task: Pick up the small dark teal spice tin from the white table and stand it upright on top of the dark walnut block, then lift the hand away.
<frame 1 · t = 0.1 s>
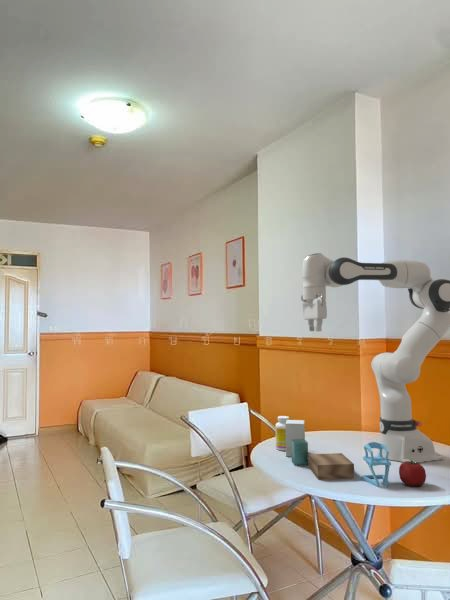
hand: (315, 331, 165), 48 cm above the table, tool pointing down, fingers open, 8 cm apart
chair: (377, 482, 136), on the table
walnut block: (330, 473, 146), on the table
supplement bottle: (284, 449, 175), on the table
tomato: (412, 485, 134), on the table
supplement box: (295, 455, 167), on the table
spice tin: (299, 463, 156), on the table
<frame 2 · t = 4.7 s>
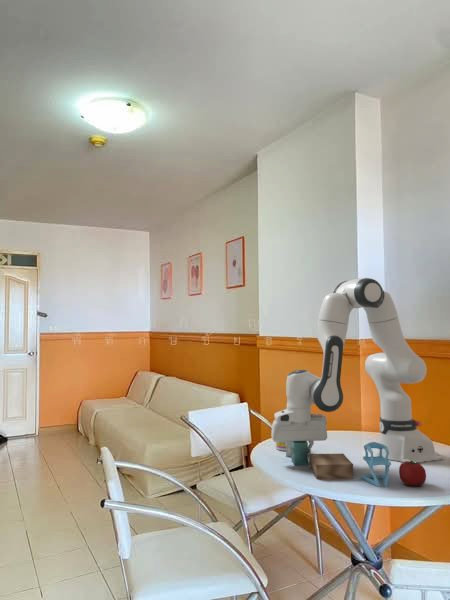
hand: (299, 453, 156), 4 cm above the table, tool pointing down, fingers closed on spice tin, 5 cm apart
spice tin: (299, 463, 156), on the table, touching gripper
everything else where it was.
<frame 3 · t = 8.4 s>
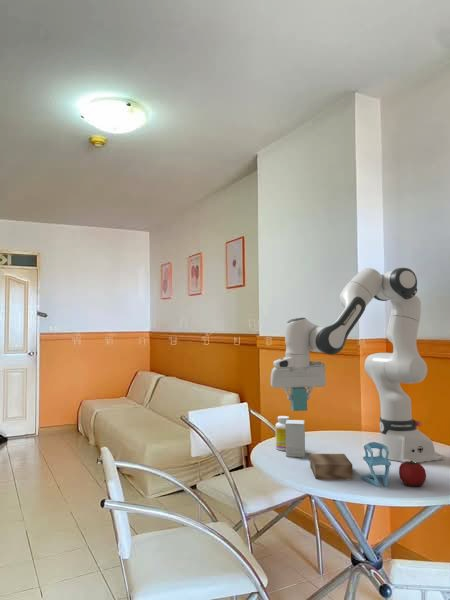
hand: (298, 399, 158), 23 cm above the table, tool pointing down, fingers closed on spice tin, 5 cm apart
spice tin: (298, 409, 157), point 19 cm above the table, touching gripper
everything else where it was.
when the fingers open (10 cm above the table, at t = 11.9 s): spice tin drops 2 cm, resting on walnut block.
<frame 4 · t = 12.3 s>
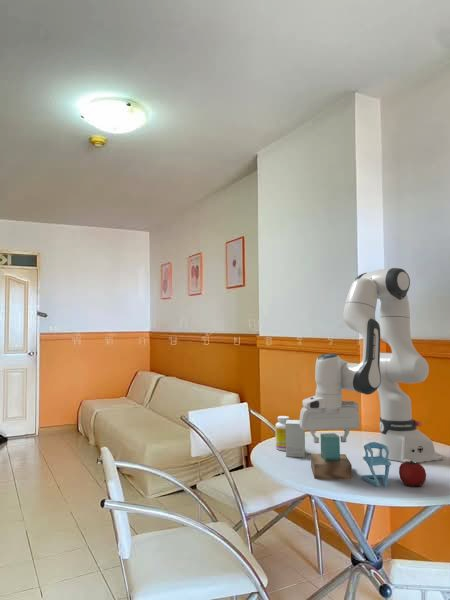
hand: (329, 442, 146), 10 cm above the table, tool pointing down, fingers open, 8 cm apart
walnut block: (330, 474, 146), on the table, touching spice tin
spice tin: (330, 459, 146), point 5 cm above the table, touching walnut block
everything else where it was.
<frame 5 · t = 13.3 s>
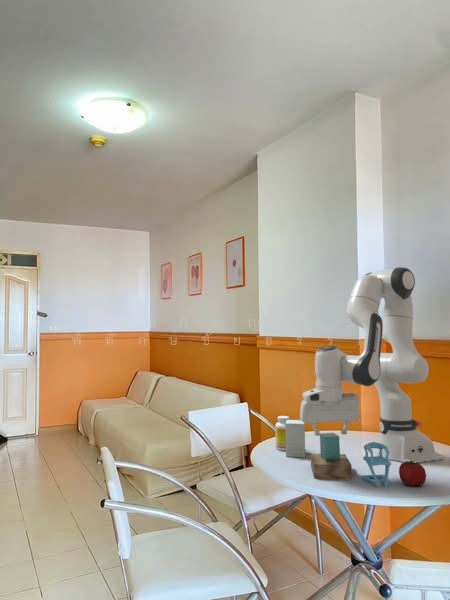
hand: (330, 434, 147), 13 cm above the table, tool pointing down, fingers open, 8 cm apart
walnut block: (330, 474, 146), on the table
spice tin: (330, 458, 146), point 5 cm above the table
everything else where it was.
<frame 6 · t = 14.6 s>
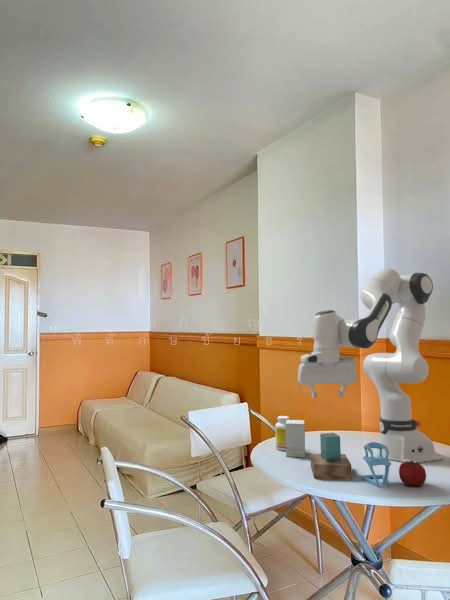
hand: (327, 396, 149), 25 cm above the table, tool pointing down, fingers open, 8 cm apart
walnut block: (330, 474, 145), on the table, touching spice tin
spice tin: (330, 458, 146), point 5 cm above the table, touching walnut block
everything else where it was.
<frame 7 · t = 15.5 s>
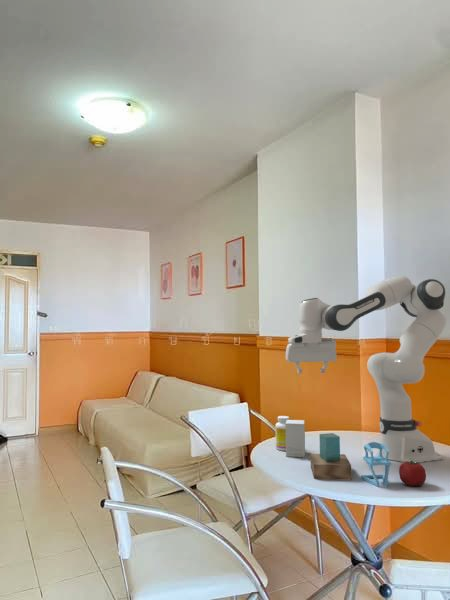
hand: (311, 373, 171), 31 cm above the table, tool pointing down, fingers open, 8 cm apart
nothing on the table moved.
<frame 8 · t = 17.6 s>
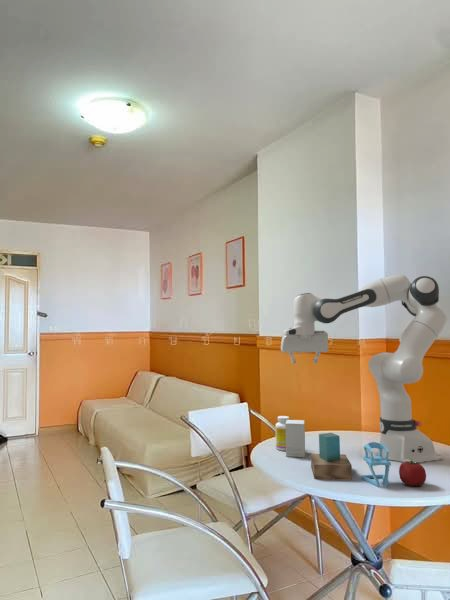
hand: (304, 363, 184), 34 cm above the table, tool pointing down, fingers open, 8 cm apart
nothing on the table moved.
at the end: spice tin inside the target area on the walnut block (0.5 cm from its centre), point 5.0 cm above the walnut block's base; spice tin tilted 1°; spice tin touching walnut block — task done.
